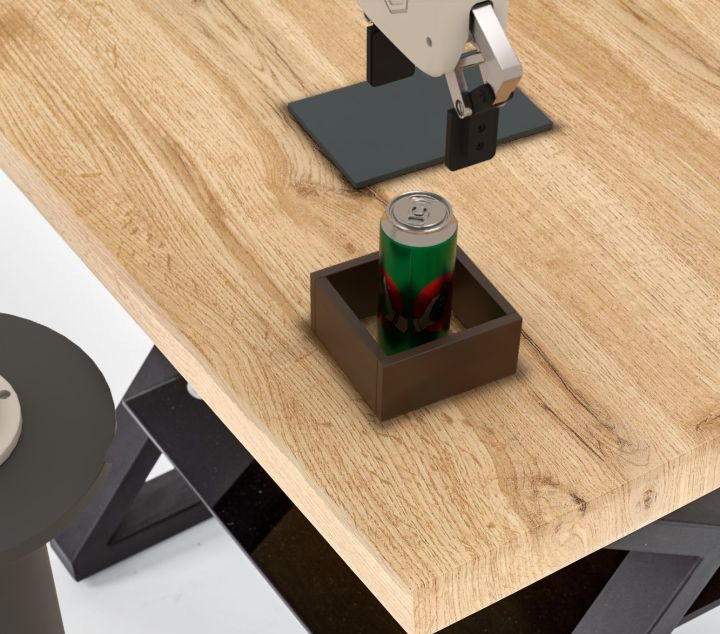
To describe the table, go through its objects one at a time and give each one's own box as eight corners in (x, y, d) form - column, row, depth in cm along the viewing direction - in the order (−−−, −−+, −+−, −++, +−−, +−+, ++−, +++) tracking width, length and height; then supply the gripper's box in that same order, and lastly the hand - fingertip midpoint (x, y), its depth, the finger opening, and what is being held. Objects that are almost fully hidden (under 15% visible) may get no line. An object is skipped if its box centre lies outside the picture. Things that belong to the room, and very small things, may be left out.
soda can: (454, 332, 111) (465, 192, 102) (441, 380, 108) (451, 240, 99) (384, 320, 112) (389, 181, 103) (368, 368, 109) (372, 228, 100)
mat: (355, 189, 122) (355, 183, 121) (287, 109, 129) (287, 103, 128) (552, 128, 127) (553, 122, 127) (477, 54, 134) (477, 48, 134)
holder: (381, 422, 105) (383, 367, 101) (310, 327, 111) (309, 272, 108) (516, 373, 109) (523, 317, 105) (440, 283, 115) (444, 228, 111)
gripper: (303, -209, 87) (310, 65, 100) (461, -68, 77) (446, 216, 90) (422, -237, 89) (414, 35, 102) (591, -103, 79) (557, 179, 92)
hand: (429, 120), depth 96 cm, fingers open, 9 cm apart
